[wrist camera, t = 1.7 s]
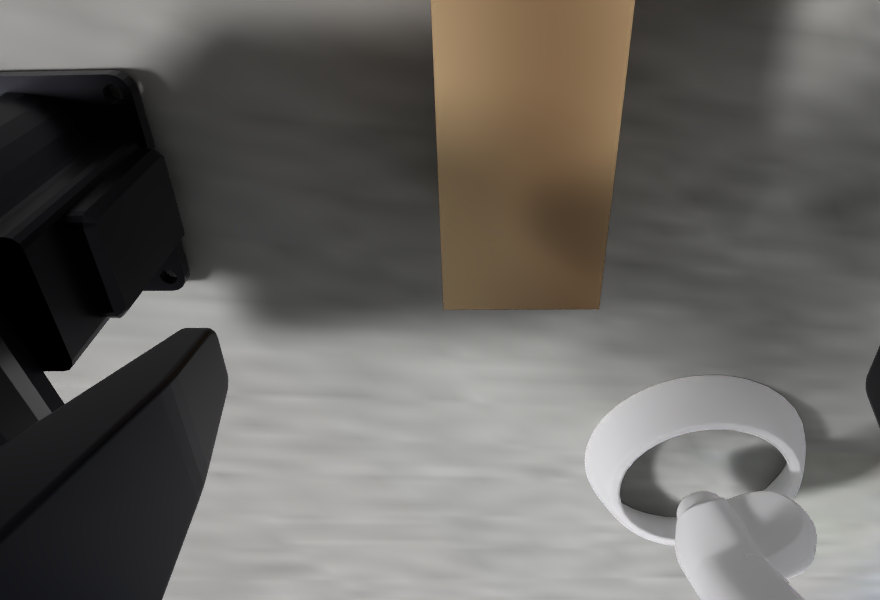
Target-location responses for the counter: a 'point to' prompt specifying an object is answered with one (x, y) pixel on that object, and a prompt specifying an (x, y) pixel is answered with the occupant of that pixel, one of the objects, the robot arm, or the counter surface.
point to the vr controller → (704, 513)
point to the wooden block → (527, 147)
